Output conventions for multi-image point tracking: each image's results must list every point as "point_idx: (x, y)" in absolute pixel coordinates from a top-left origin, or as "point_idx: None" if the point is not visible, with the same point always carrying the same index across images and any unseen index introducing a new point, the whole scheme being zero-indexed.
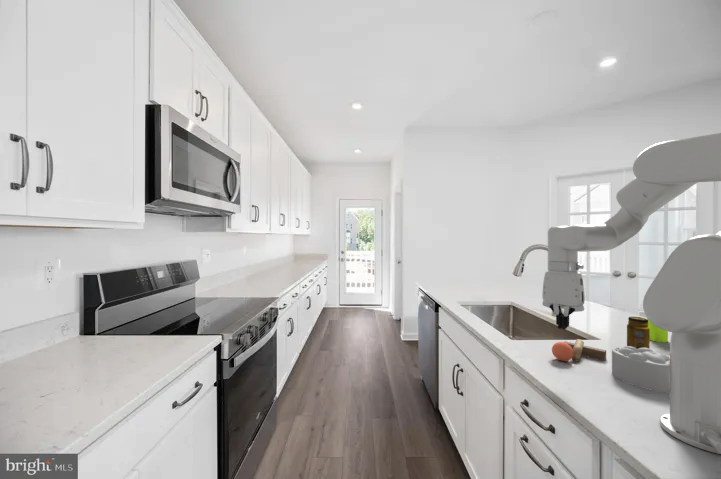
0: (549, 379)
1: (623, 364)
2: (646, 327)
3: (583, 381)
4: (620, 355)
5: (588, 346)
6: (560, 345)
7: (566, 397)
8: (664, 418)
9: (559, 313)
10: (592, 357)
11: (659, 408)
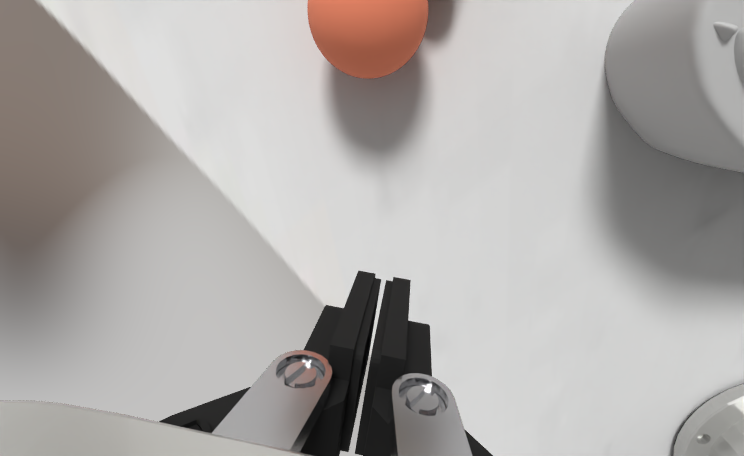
0: None
1: (699, 144)
2: None
3: (479, 251)
4: (724, 130)
5: None
6: (354, 44)
7: None
8: (699, 443)
9: (322, 453)
10: None
11: (709, 335)
